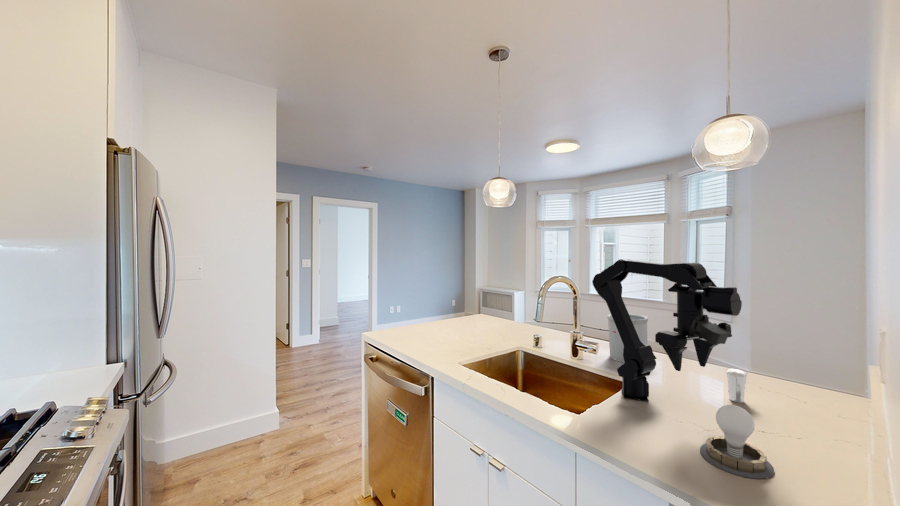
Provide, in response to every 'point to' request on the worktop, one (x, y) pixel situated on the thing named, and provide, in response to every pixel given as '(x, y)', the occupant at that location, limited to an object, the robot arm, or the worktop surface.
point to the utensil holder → (615, 338)
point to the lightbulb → (735, 428)
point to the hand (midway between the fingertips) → (690, 368)
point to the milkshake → (736, 384)
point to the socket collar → (733, 463)
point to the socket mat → (763, 475)
